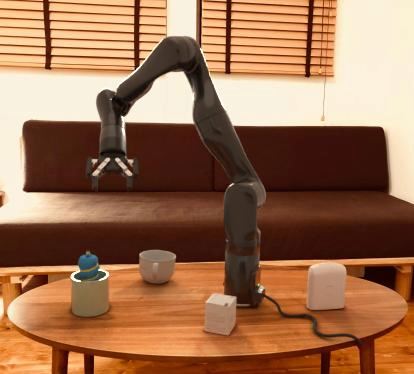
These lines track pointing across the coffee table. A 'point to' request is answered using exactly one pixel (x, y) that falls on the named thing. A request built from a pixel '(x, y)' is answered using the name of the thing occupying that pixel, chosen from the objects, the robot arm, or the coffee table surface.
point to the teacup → (156, 265)
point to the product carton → (220, 314)
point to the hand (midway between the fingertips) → (112, 189)
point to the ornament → (89, 267)
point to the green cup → (90, 295)
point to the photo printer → (326, 286)
